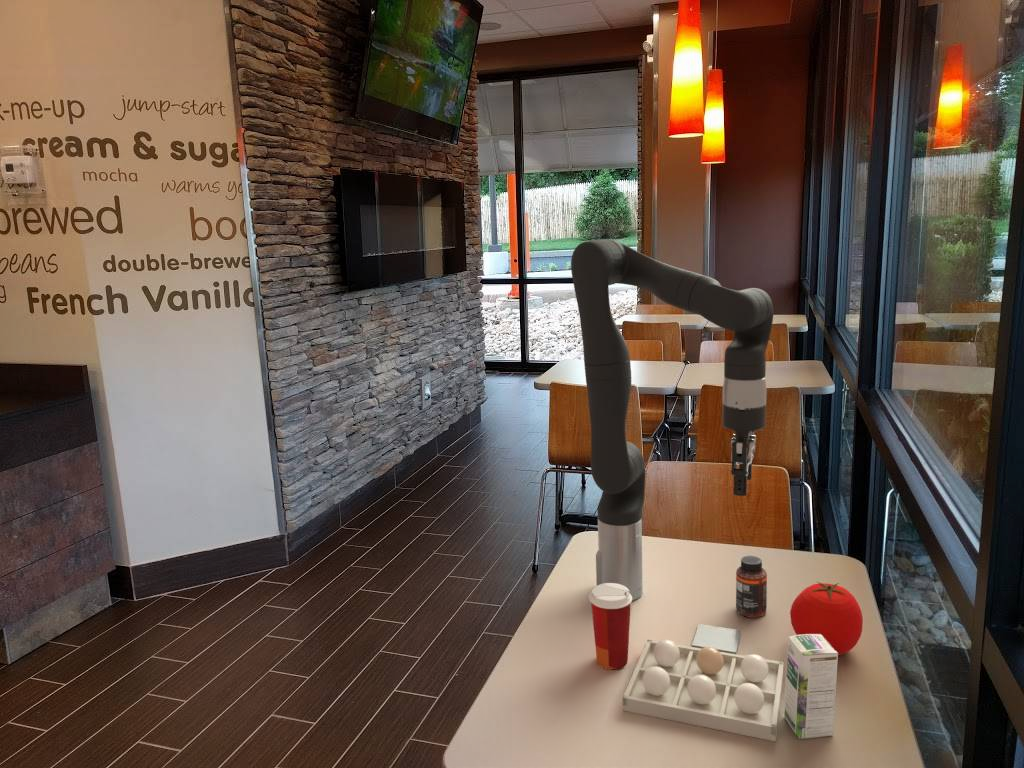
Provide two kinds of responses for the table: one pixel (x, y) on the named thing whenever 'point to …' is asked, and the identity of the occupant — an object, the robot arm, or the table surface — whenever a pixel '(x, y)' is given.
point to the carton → (729, 711)
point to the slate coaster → (717, 638)
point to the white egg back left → (666, 653)
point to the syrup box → (810, 685)
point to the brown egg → (709, 660)
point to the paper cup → (611, 624)
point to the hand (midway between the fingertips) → (742, 486)
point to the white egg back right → (754, 668)
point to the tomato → (828, 615)
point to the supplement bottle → (751, 587)
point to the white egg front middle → (701, 689)
